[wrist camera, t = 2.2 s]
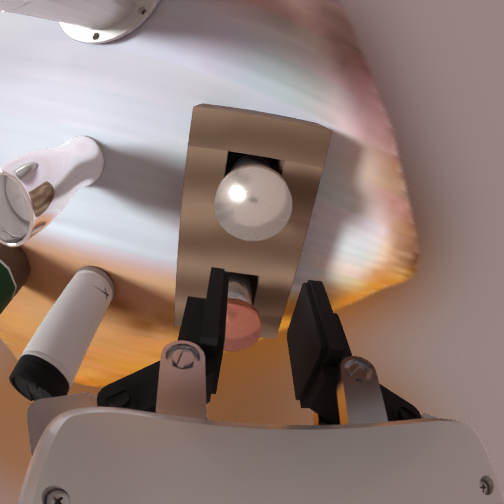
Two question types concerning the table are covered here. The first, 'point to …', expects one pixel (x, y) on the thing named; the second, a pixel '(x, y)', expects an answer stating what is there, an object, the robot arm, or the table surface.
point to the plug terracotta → (241, 314)
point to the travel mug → (63, 336)
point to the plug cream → (253, 200)
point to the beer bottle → (11, 273)
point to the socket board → (203, 212)
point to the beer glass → (44, 186)
